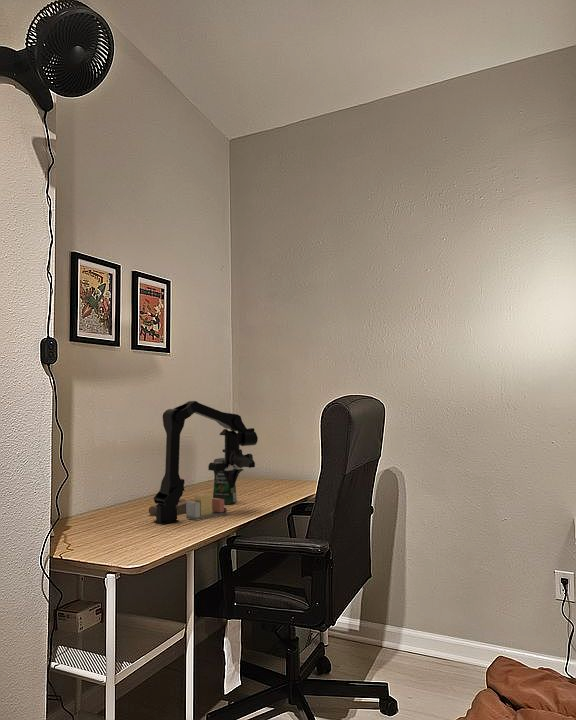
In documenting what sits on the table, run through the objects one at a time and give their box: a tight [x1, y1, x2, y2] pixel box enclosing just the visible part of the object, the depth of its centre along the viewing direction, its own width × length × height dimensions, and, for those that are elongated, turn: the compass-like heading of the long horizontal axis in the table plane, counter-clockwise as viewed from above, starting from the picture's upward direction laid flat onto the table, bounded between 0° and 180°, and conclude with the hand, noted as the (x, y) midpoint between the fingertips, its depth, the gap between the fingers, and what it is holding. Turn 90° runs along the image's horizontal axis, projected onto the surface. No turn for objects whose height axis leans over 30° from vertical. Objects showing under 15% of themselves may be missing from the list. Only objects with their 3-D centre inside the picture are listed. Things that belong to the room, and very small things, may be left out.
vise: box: [185, 501, 228, 521], centre depth 222 cm, size 14×6×6 cm, turn 133°
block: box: [194, 493, 213, 516], centre depth 221 cm, size 5×4×7 cm
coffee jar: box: [212, 457, 238, 505], centre depth 251 cm, size 10×8×19 cm
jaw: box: [212, 497, 225, 512], centre depth 226 cm, size 2×6×4 cm, turn 43°
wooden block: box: [148, 498, 195, 516], centre depth 231 cm, size 4×11×18 cm
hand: (232, 487), depth 231 cm, fingers closed
